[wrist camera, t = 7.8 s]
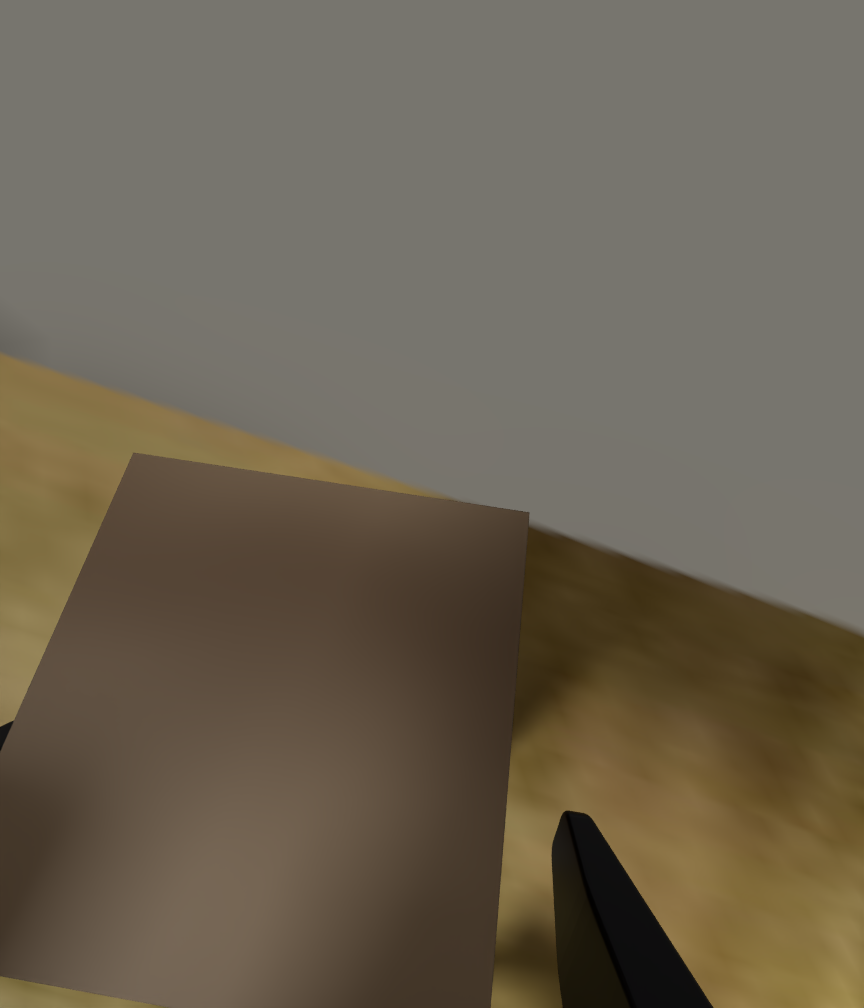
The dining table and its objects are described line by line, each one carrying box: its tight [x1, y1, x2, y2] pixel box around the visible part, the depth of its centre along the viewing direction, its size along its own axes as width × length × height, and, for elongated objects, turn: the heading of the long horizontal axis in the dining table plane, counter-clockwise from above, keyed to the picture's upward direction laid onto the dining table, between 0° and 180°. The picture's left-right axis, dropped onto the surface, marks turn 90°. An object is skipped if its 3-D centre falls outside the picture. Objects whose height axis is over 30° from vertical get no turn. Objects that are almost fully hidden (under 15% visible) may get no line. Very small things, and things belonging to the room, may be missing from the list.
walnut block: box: [0, 453, 529, 1008], centre depth 12 cm, size 6×6×12 cm
